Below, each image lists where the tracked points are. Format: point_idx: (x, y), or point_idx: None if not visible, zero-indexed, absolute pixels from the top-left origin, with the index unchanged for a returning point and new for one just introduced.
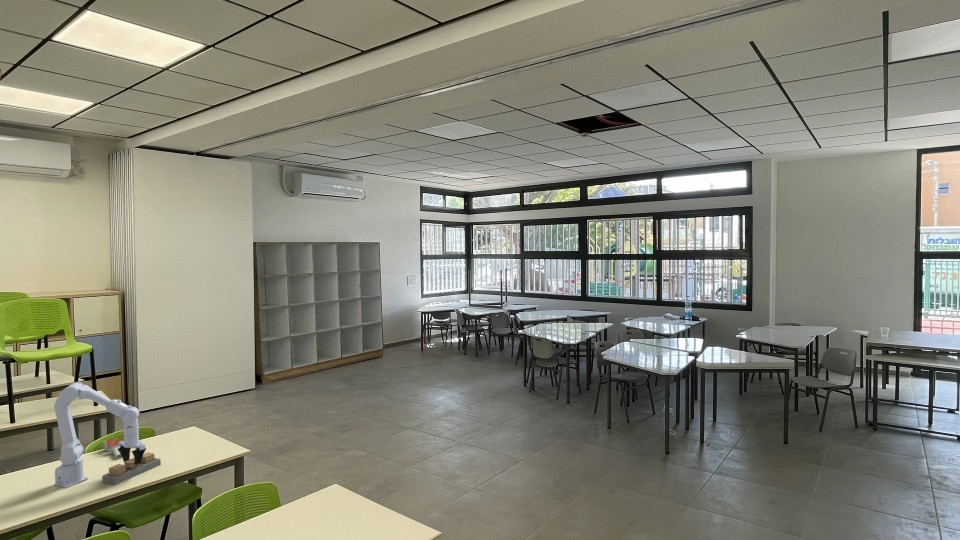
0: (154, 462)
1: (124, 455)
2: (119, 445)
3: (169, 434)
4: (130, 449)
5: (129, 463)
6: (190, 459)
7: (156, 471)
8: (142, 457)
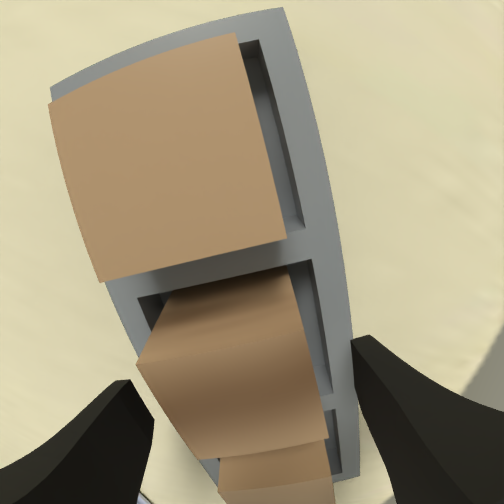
0: (306, 99)
1: (126, 492)
2: None
3: None
4: (44, 481)
5: (287, 438)
6: None
7: (416, 157)
8: (203, 254)
